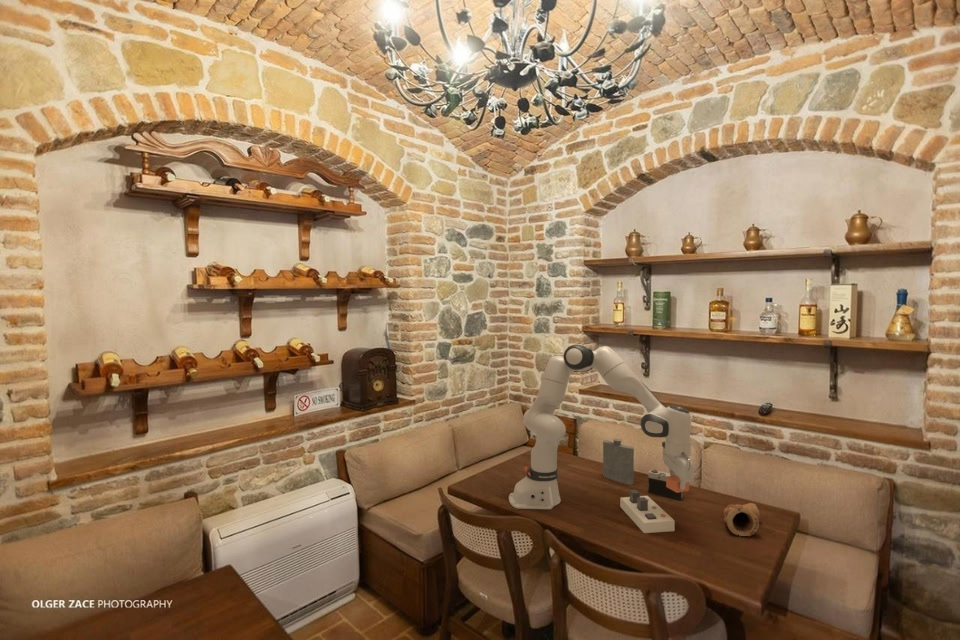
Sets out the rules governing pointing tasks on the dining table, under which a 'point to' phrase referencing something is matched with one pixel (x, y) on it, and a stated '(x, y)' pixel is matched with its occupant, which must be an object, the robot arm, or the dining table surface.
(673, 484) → the cap
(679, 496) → the camera
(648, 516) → the block
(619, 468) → the hip flask
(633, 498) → the block
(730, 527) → the clay pipe
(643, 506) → the block
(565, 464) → the dining table surface
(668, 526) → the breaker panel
